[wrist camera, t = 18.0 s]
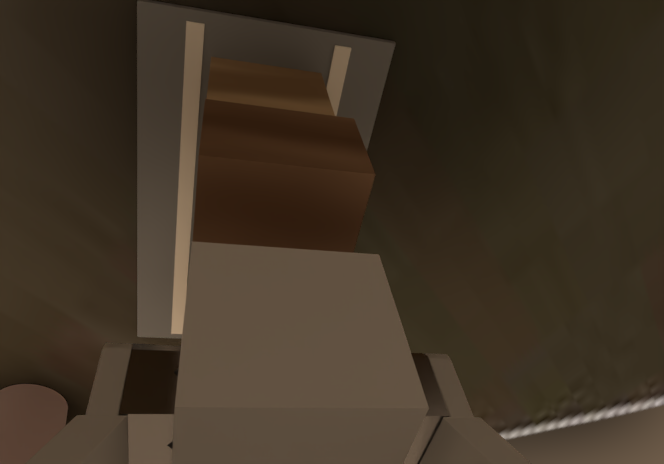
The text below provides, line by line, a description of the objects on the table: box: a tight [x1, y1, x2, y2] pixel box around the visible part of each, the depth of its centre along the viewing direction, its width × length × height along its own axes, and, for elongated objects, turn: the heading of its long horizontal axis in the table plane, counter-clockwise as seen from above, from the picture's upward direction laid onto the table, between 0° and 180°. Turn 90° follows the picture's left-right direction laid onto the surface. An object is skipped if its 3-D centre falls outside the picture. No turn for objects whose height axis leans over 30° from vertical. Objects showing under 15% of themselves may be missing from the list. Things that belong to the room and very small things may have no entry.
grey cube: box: [172, 241, 429, 464], centre depth 11 cm, size 4×4×4 cm
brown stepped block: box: [193, 57, 375, 253], centre depth 20 cm, size 15×4×9 cm, turn 169°
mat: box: [137, 0, 395, 338], centre depth 24 cm, size 16×9×1 cm, turn 169°
